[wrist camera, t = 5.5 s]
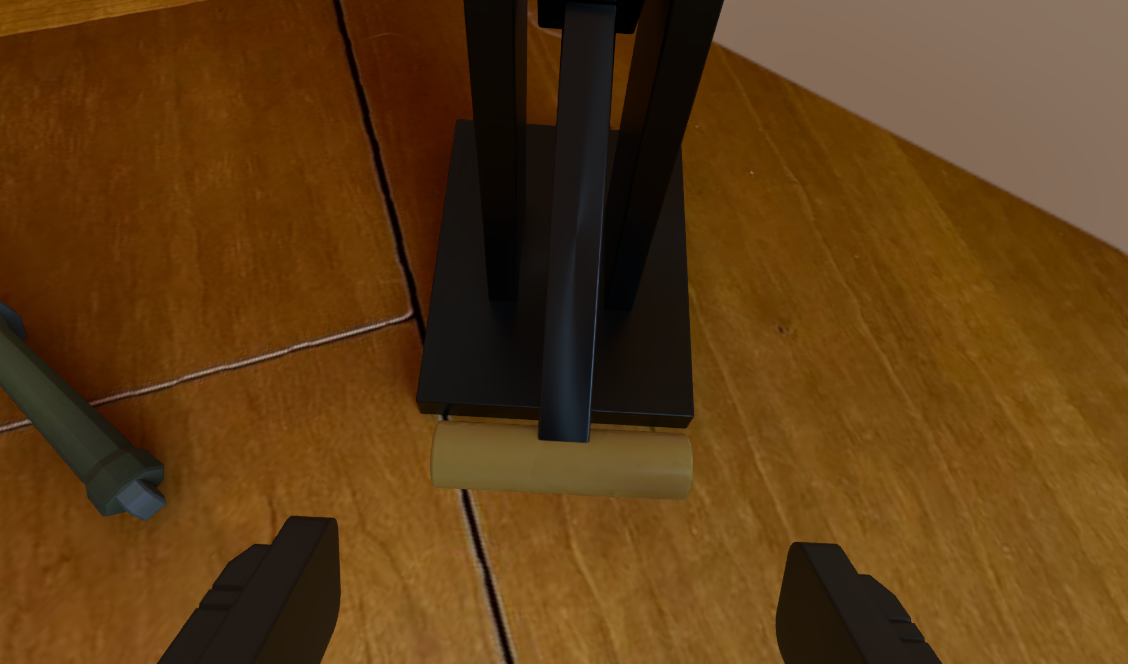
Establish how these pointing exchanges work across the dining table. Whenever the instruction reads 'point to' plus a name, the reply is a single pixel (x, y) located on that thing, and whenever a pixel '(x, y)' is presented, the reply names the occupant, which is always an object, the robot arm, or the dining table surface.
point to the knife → (78, 429)
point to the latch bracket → (522, 231)
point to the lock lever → (571, 309)
